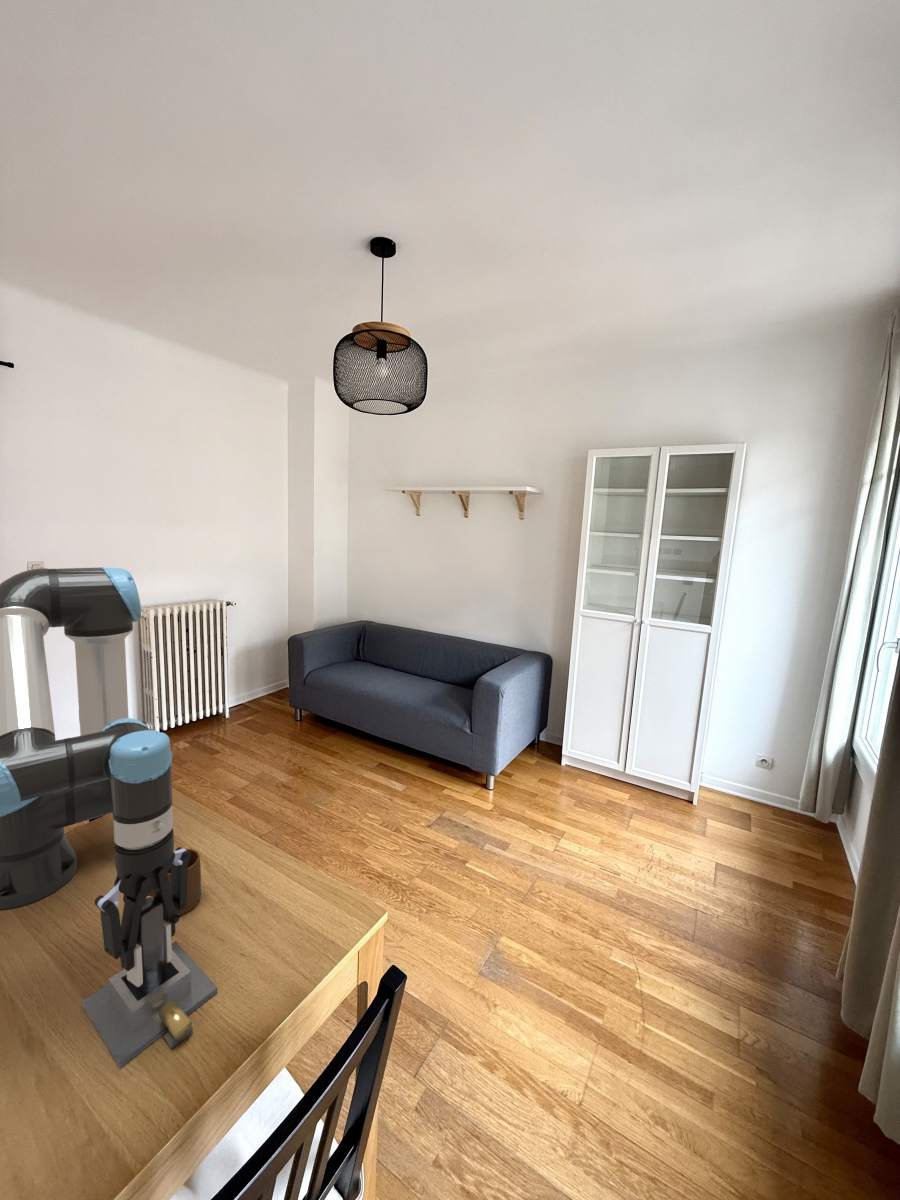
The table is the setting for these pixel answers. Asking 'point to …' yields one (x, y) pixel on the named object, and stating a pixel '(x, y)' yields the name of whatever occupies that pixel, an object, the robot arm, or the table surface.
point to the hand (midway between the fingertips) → (150, 968)
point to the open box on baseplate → (149, 1008)
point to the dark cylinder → (151, 946)
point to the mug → (189, 882)
